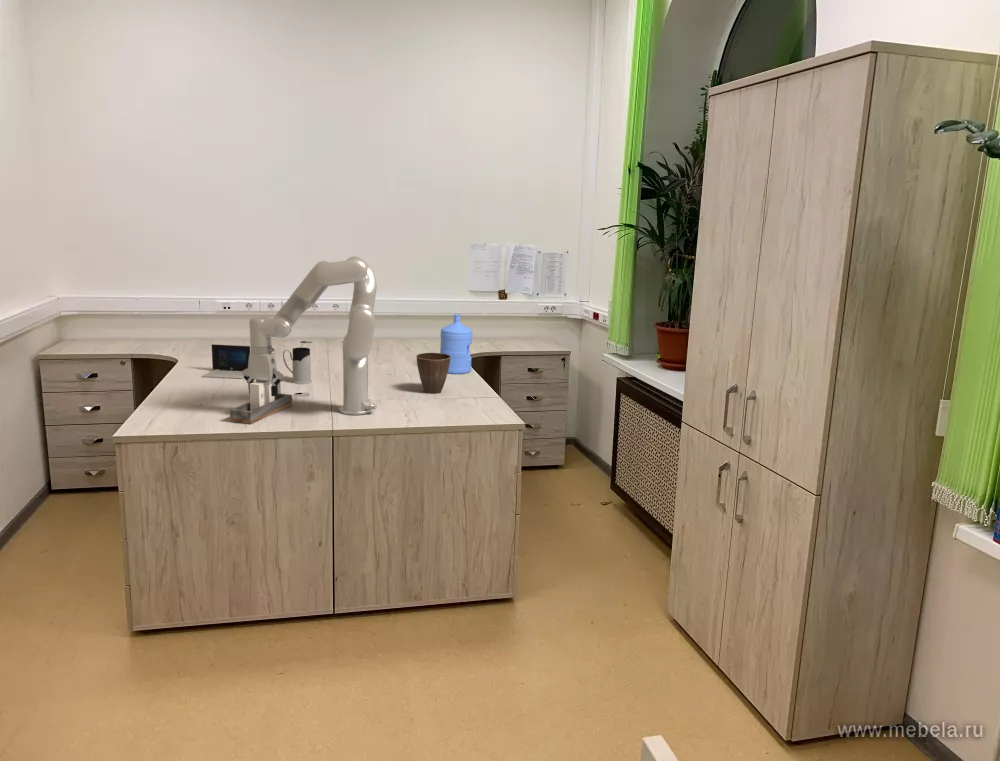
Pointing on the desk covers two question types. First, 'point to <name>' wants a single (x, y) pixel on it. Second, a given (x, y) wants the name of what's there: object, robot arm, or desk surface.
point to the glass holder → (300, 365)
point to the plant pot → (433, 371)
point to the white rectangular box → (260, 394)
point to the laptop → (229, 361)
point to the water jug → (457, 346)
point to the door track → (260, 410)
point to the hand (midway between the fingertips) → (263, 394)
